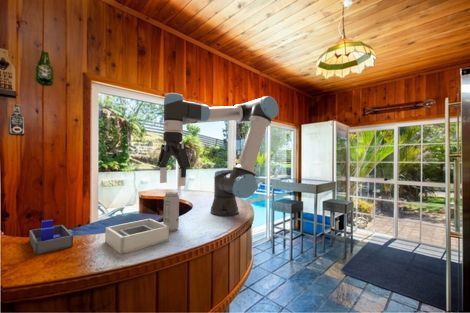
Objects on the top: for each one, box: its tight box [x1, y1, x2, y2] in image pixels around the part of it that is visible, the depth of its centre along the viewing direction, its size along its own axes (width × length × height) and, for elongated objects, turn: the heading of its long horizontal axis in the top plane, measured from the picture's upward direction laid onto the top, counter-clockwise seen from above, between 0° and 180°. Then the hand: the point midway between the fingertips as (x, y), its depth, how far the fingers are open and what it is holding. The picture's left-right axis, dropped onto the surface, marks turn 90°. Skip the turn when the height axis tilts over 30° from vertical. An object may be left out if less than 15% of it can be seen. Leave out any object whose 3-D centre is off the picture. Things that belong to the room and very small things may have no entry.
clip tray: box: [28, 224, 74, 256], centre depth 73 cm, size 9×16×4 cm, turn 48°
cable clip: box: [41, 219, 60, 241], centre depth 73 cm, size 12×4×6 cm, turn 41°
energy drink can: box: [162, 191, 180, 233], centre depth 90 cm, size 6×6×15 cm
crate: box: [104, 218, 170, 255], centre depth 77 cm, size 16×14×5 cm
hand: (172, 184), depth 90 cm, fingers open, 13 cm apart
